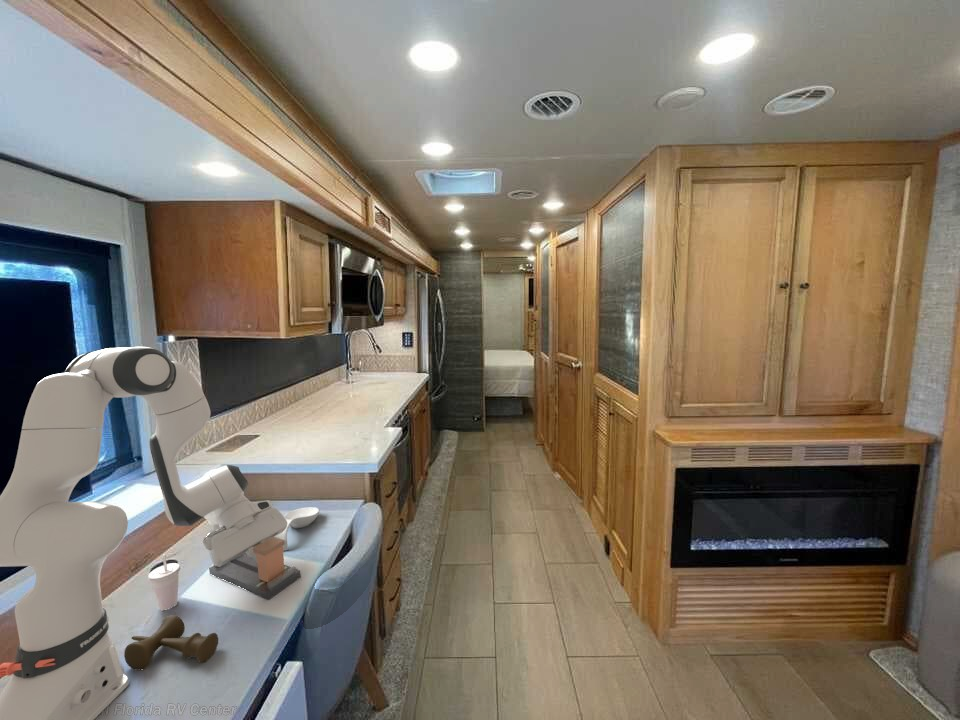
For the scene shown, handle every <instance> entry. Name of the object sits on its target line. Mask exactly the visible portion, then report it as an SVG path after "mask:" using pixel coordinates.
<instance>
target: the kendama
mask: <svg viewBox="0 0 960 720" xmlns="http://www.w3.org/2000/svg"><path fill="white" fill-rule="evenodd" d="M185 628H186V626H185V622H184V621H183V618H181V617H180V616H178V615H175V614H170V615H167V616H166V617H165V618H164V619H163V620H162V622H161V624H160V626H159V627H158V628H157V630H156V631H155V632H154V633H153V634H152V635H150V636H142V635H133V636H131V640H134V642H131V643H129V644H127V645H126V647H125V649H124V654H123V656H124V661H125V663H126V664H127V666H128V667H129V668H131V669H132V670H135V669H140V670H139V671H142V670H141V669H143V670H146V669H147V668H148V667H149V665H150V663H151V661H152V658H153V656H154V654H155V653H156V651H158V649H160V647H167V648H170V649H172V650H175V651H177V652H179V653H181V655H182V658H183V659H190V658H191V657H192V658H196V660H197V661H198V662H199V663H201V664H202V663H206V662H207V661H208V660H210V659H211V658H212V656H213V655H214V654H215V652H216V650H217V648H218V645H219V636H218V634H217V633H216V632H211V633H210V634H208V635H207V636H204V635H202V634H201V633H199V632H196V633H193V634H192V635H191V636H184V637H182V636H183V635H184V633H185Z"/></svg>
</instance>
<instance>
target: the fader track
mask: <svg viewBox="0 0 960 720" xmlns="http://www.w3.org/2000/svg"><path fill="white" fill-rule="evenodd" d="M212 563H213V562H212ZM284 567H285V572H284V573H282V574H281V575H279V576H278V577H276V578H275V579H273V580H272V581H270V582H269V583H268V582H265V581H263V580H260V579H259V575H258V565H257V561H256V560H255V559H254V558H252V557H249V556H247V554H246V553H244V554H242V555H240V556H239V557H237V558H235V559H233V560H232V561H230V562H228V563H226V564H224V565H223V566H221V567H218V566H215V565H214V563H213V564H212V565H211V566H210V567H208V569H209V570H208V571H209V575H210V574H212V575H214V576H216V577H215V578H217V577H219V578H221V579H224V580H226V581H228V582H231V583H233V584H235V585H237V586H240V587H241V588H240V589H242V588H244V589H246V590H247V592H248V591H249V593H251V594H253V595H255V596H258V597H260V598H262V599H265V600H267V601H269V600H271V599H272V598H273V597H275V596H276V595H278V594H279V593H280V592H282V591H284V590H285V589H286V588H287V587H290V585H293V583H295V582H296V581H298V580H299V579H301V577H302V573H301V570H300V569H298V568H296V566H290V565H287V564H284ZM212 575H211V576H212ZM214 576H213V577H214ZM219 578H218V579H219ZM221 579H220V580H221ZM224 580H223V581H224ZM226 581H225V582H226ZM228 582H227V583H228ZM233 584H232V585H233ZM235 585H234V586H235ZM237 586H236V587H237ZM244 589H243V590H244ZM246 590H245V591H246Z"/></svg>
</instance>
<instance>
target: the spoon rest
mask: <svg viewBox="0 0 960 720" xmlns="http://www.w3.org/2000/svg"><path fill="white" fill-rule="evenodd" d="M319 514H320V509H319V508H318V507H314V506H312V507H311V506H310V507H308V506H307V507H300V508H297V509H294V510H291V511H288V512H287V513H285V514H284V515H283V516H284V518H285V519H286V521H287V527H286V529H285V530H284V531H283V532H282V533H280V534H278V535H276V536H275V537H276V538H279V539H283V540H285V544H284V545H283V552H285V551H288V550H289V545H288V531H289V528H290V527H292V528H293V529H301V528H305V527H307V526H309V525H310V524H311V523H313V522H314V521H315V520H316V519H317V517H318V516H319Z"/></svg>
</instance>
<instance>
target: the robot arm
mask: <svg viewBox="0 0 960 720" xmlns="http://www.w3.org/2000/svg"><path fill="white" fill-rule="evenodd" d="M135 396H140V397H142V398H143V399H144V400H145V401H146V403H147V404H148V407H149V408H150V410H151V411H150V412H152V414H153V417H154V418H155V423H156V424H155V431H154V433H153V434H152V435H151V436H150V437H149V449H150V454H151V457H152V461H153V466H154V469H155V473H156V476H157V479H158V483H159V487H160V490H161V493H162V497H163V505H164V512H165V516H166V517H167V519H168V520H169V522H171V524H173V525H174V526H176V527H192V526H193V525H195V524H196V523H198V522H200V520H203V518H204V516H206V515H208V514H210V513H211V512H214V513H215V515H216V519H217V521H218V523H219V526H220V528H219V529H217V530H216V531H214V532H212V531H211V532H209V533H207V534H206V536H205V537H204V538H203V541H202V544H203V546H204V547H205V549H207V551H208V552H209V556H210V559H211V561H212V563H214V565H215V566H218V567H221V566H223V565H224V564H226V563H228V562H230V561H232V560H233V559H235V558H237V557H239V556H240V555H242V554H244V553H246V554H247V556H249V557H252V558H254V559H255V560H256V561H257V556H256V553H255V552H253V547H255V546H257V545H259V544H261V543H262V542H264V541H266V540H268V539H270V538H271V537H275V536H276V535H278V534H280V533H282V532H283V531H284V530H285V529H286V527H287V521H286V519H285V518H284V515H283V514H282V513H281V511H280V510H279V509H278V508H276V507H273V502H272V501H271V500H263V501H255V502H253V501H252V502H251V501H250V500H249V498H247V497H246V496H245V493H246V491H247V488H248V486H249V481H248V479H247V478H246V477H245V476H244V474H243V473H242V472H241V469H240V467H239V466H236V465H232V464H226V465H222V466H219V467H217V468H213V469H210V470H208V471H207V472H206V473H205V474H203V475H202V477H200V478H198V479H196V480H194V481H192V482H190V483H188V484H184V485H182V482H181V480H180V475H179V473H178V472H179V470H178V469H177V464H176V461H177V457H178V455H179V454H180V452H181V451H183V449H184V448H185V447H186V446H187V445H188V443H190V442H191V441H192V440H193V439H195V438H196V437H198V435H199V434H200V433H201V432H202V431H203V430H204V429H205V428H206V426H207V425H208V423H209V421H210V418H211V415H212V414H211V409H210V405H209V402H208V400H207V398H206V396H205V394H204V391H203V390H202V388H201V386H200V385H199V383H198V381H197V380H196V378H195V377H194V375H193V374H192V372H190V370H189V369H188V368H187V366H186V365H185V364H183V363H181V362H178V361H175V360H173V361H172V360H171V359H170V358H169V357H168V355H166V354H165V353H163V352H161V350H158V349H156V348H152V347H149V346H148V347H147V346H132V347H109V348H104V349H100V350H91V351H88V352H85V353H83V354H81V355H78V356H77V357H75V358H74V359H73V360H72V361H71V362H70V363H69V364H68V366H67V367H66V369H65V370H64V371H63V372H61V373H55V374H51V375H48V376H46V377H44V378H42V379H41V380H40V381H38V382H37V384H36V385H35V387H34V389H33V392H32V393H31V396H30V398H29V402H28V404H27V407H26V409H25V412H24V413H25V414H24V416H23V420H22V421H23V422H22V426H21V432H20V438H19V443H18V449H17V452H16V453H17V454H16V456H15V457H16V458H15V462H14V468H13V471H12V473H11V476H10V478H9V480H8V482H7V484H6V486H5V487H4V489H3V490H2V493H1V494H0V567H1V568H2V567H32V569H34V572H35V582H34V585H33V586H32V587H31V588H30V589H28V590H27V591H26V592H25V593H24V594H23V595H22V596H21V597H20V598H19V599H18V601H17V603H16V605H15V606H14V617H15V622H16V628H17V633H18V638H19V644H18V645H17V648H16V653H15V658H14V661H13V662H7V661H6V662H3V663H0V678H2V677H5V676H9V677H10V676H11V677H10V679H8V682H7V683H6V685H5V687H4V688H3V689H2V691H1V692H0V720H95V719H96V718H97V717H98V716H99V715H100V714H101V713H102V712H103V711H104V710H105V709H106V708H107V707H108V706H109V705H110V704H111V703H112V702H113V701H114V700H115V699H116V698H117V697H118V696H119V695H120V694H121V693H122V692H123V691H124V690H125V689H126V688H127V687H128V686H129V685H130V679H129V676H128V675H126V674H125V673H124V667H123V664H121V662H120V658H119V655H118V653H117V648H116V646H115V644H114V643H113V641H112V640H111V638H110V636H109V633H108V630H109V627H110V626H109V616H108V615H107V610H106V608H104V607H103V600H102V599H103V598H102V591H101V590H102V589H101V573H102V569H103V565H104V563H105V561H106V559H107V558H108V557H109V555H111V554H112V553H113V552H115V550H117V548H118V547H119V546H120V545H121V543H122V542H123V541H124V539H125V536H126V534H127V532H128V526H129V520H128V516H127V514H126V512H125V510H124V509H123V508H121V507H119V506H118V505H113V504H109V503H103V502H98V501H69V500H70V496H71V495H72V492H73V490H74V488H75V487H76V486H77V484H78V483H79V481H80V480H81V479H82V478H85V477H86V476H89V475H90V474H92V473H93V472H94V471H95V470H96V468H97V466H98V465H99V461H100V456H101V455H100V453H101V447H102V446H101V445H102V437H103V431H104V429H103V428H104V420H105V411H106V408H107V406H108V405H109V403H110V402H111V400H112V399H113V398H117V399H118V398H129V397H130V398H131V397H135ZM204 519H205V518H204ZM214 565H213V566H214Z"/></svg>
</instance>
